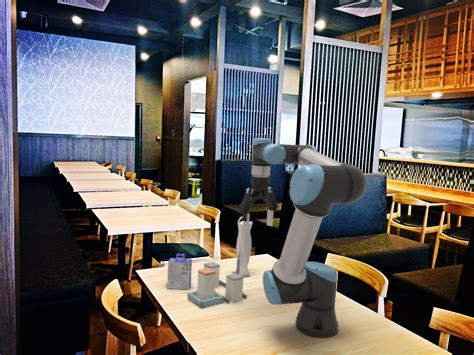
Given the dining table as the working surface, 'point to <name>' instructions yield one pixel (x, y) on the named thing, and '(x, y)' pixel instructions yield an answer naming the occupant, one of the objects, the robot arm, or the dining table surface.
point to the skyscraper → (243, 250)
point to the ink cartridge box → (179, 272)
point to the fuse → (206, 284)
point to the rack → (228, 284)
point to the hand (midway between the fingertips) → (258, 227)
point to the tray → (202, 304)
